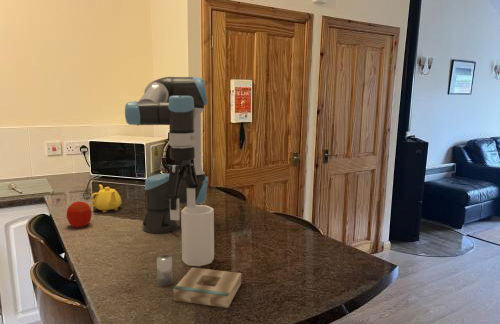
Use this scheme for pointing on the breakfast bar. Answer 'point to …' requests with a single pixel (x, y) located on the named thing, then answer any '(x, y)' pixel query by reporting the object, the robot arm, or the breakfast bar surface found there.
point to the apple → (79, 214)
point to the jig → (208, 287)
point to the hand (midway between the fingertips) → (183, 213)
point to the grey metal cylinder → (164, 270)
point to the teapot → (106, 199)
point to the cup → (197, 235)
